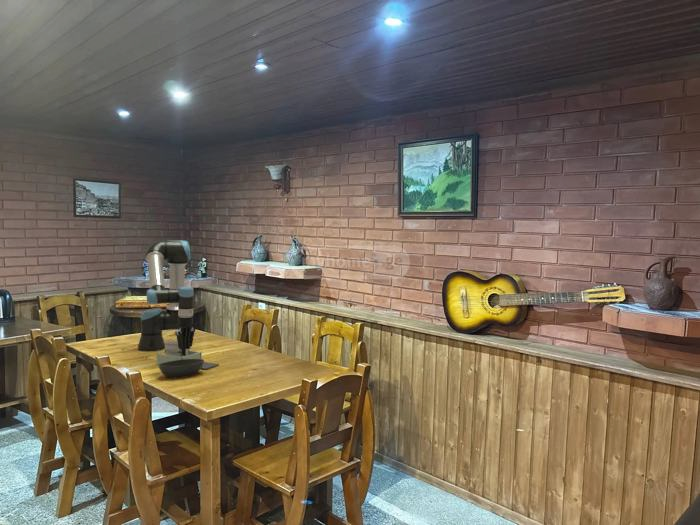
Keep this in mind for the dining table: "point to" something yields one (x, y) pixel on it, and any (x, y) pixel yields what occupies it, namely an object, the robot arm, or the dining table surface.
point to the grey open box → (166, 358)
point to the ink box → (172, 349)
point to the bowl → (181, 368)
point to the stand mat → (208, 365)
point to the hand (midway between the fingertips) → (185, 361)
